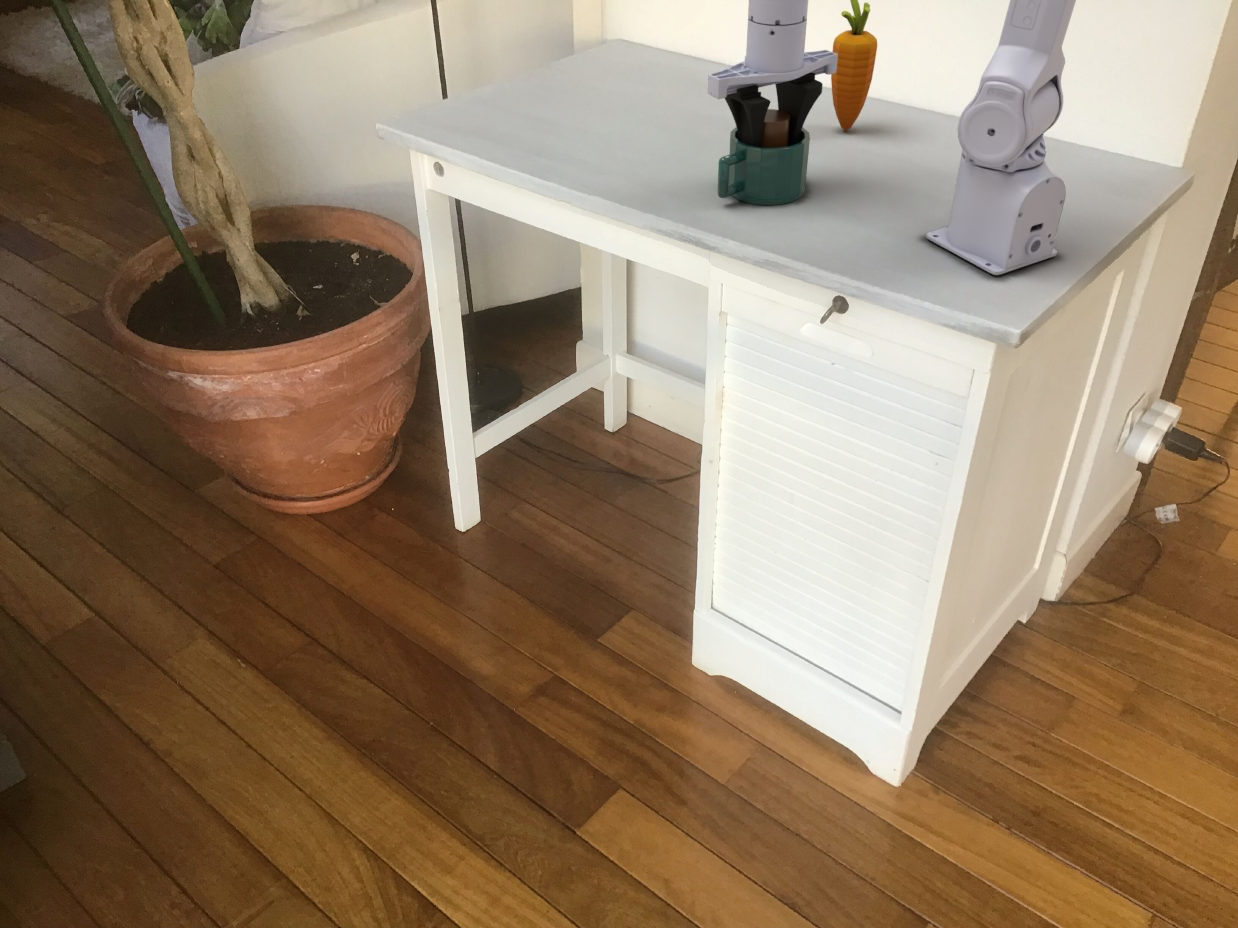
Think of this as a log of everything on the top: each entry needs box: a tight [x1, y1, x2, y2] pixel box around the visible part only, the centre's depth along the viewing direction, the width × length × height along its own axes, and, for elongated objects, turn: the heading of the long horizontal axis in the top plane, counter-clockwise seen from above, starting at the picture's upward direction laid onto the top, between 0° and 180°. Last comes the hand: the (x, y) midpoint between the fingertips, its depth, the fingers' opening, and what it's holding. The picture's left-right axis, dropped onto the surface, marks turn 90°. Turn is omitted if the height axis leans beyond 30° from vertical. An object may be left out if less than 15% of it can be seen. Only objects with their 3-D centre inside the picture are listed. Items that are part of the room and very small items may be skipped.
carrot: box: [830, 0, 878, 132], centre depth 119 cm, size 5×5×15 cm
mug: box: [717, 126, 811, 206], centre depth 108 cm, size 11×8×6 cm
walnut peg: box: [761, 108, 790, 148], centre depth 107 cm, size 4×4×6 cm
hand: (768, 153), depth 108 cm, fingers closed on walnut peg, 4 cm apart
